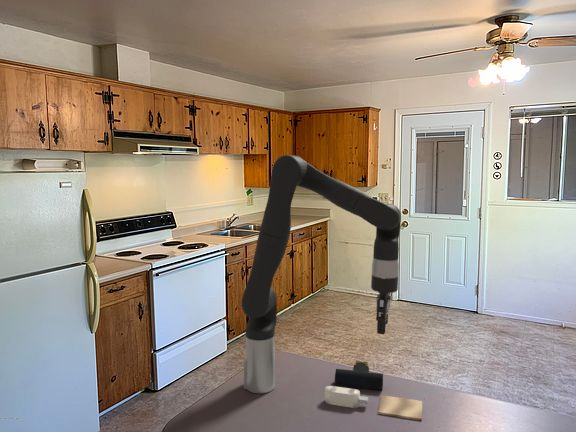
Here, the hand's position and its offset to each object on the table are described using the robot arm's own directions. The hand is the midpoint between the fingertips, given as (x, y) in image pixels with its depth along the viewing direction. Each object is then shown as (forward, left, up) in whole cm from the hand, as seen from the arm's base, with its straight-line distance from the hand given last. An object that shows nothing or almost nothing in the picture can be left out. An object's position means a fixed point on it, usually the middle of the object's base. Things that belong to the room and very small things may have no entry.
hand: (382, 328), depth 130 cm
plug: (-10, -2, -24) cm, 26 cm away
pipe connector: (-8, +14, -24) cm, 29 cm away
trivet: (+6, 0, -24) cm, 25 cm away
